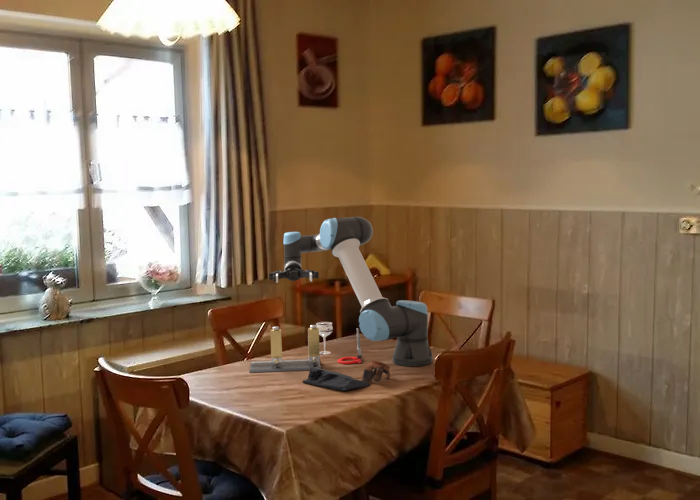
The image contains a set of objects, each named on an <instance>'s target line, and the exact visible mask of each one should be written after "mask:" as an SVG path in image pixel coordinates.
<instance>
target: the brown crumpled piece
mask: <svg viewBox="0 0 700 500" xmlns="http://www.w3.org/2000/svg"><path fill="white" fill-rule="evenodd" d="M390 373H391V372H390V365H387V364H386V363H384V362H382V361H378V360H376V359H370V361H369V362H368V363H367V364H366V365H365V366H364V369H363V374H362V375H361V381H365V382H368V383H369V384H370V385H372V384H373V381H374V382H375V383H378V382H380V381H381V379H382V376H383V374H385V375H386V376H387V377H386V378H387V380H389V379H390V377H391V374H390Z"/></svg>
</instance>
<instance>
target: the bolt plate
mask: <svg viewBox="0 0 700 500" xmlns="http://www.w3.org/2000/svg"><path fill="white" fill-rule="evenodd" d="M307 342H308V343H307V345H308V350H307V351H308V358H300V359H297V358H296V359H295V358H294V359H282V362H278V365H275V362H273V363H271V360H255V361H254V360H253V361H250V362H249V363H250V364H249V373H272V372H275V373H276V372H295V371H297V372H298V371H310V368H320V369H321V363H320V361H321V359H320V358H321V356H320V355H321V354H320V352H321V351H320V335H319V328H317V325H316V324H310V326H309V327H308V328H307Z"/></svg>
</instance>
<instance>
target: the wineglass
mask: <svg viewBox="0 0 700 500" xmlns="http://www.w3.org/2000/svg"><path fill="white" fill-rule="evenodd" d="M315 325H317V328H319V336H321V338H323V350H322V351H319V352H320V355H329V354H331V353H332V352H331V351H330V350H329V351H328V350H326V338H327V337H328V336H330V335H331V334H332V333H333V330H334V328H333V322H331V321H319V322H316V323H315Z"/></svg>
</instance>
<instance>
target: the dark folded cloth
mask: <svg viewBox="0 0 700 500" xmlns="http://www.w3.org/2000/svg"><path fill="white" fill-rule="evenodd" d="M301 382H302V383H304V384H309V385H311V386H314V387H319V388H326V389H329V390H335V391H340V392H346V391H350V390H357V389H360V388H361V389H362V388H366V387H369V386H370V385H371V384H370V383H368V382H365V381H362V379H357V378H354V377H352V376H351V375H347V374H344V373H342V372H337V371H335V370H334V371H332V370H327V369H323V368H321V367H320V368H310V370H308V376H307V378H306V379H304V380H302V381H301Z"/></svg>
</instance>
